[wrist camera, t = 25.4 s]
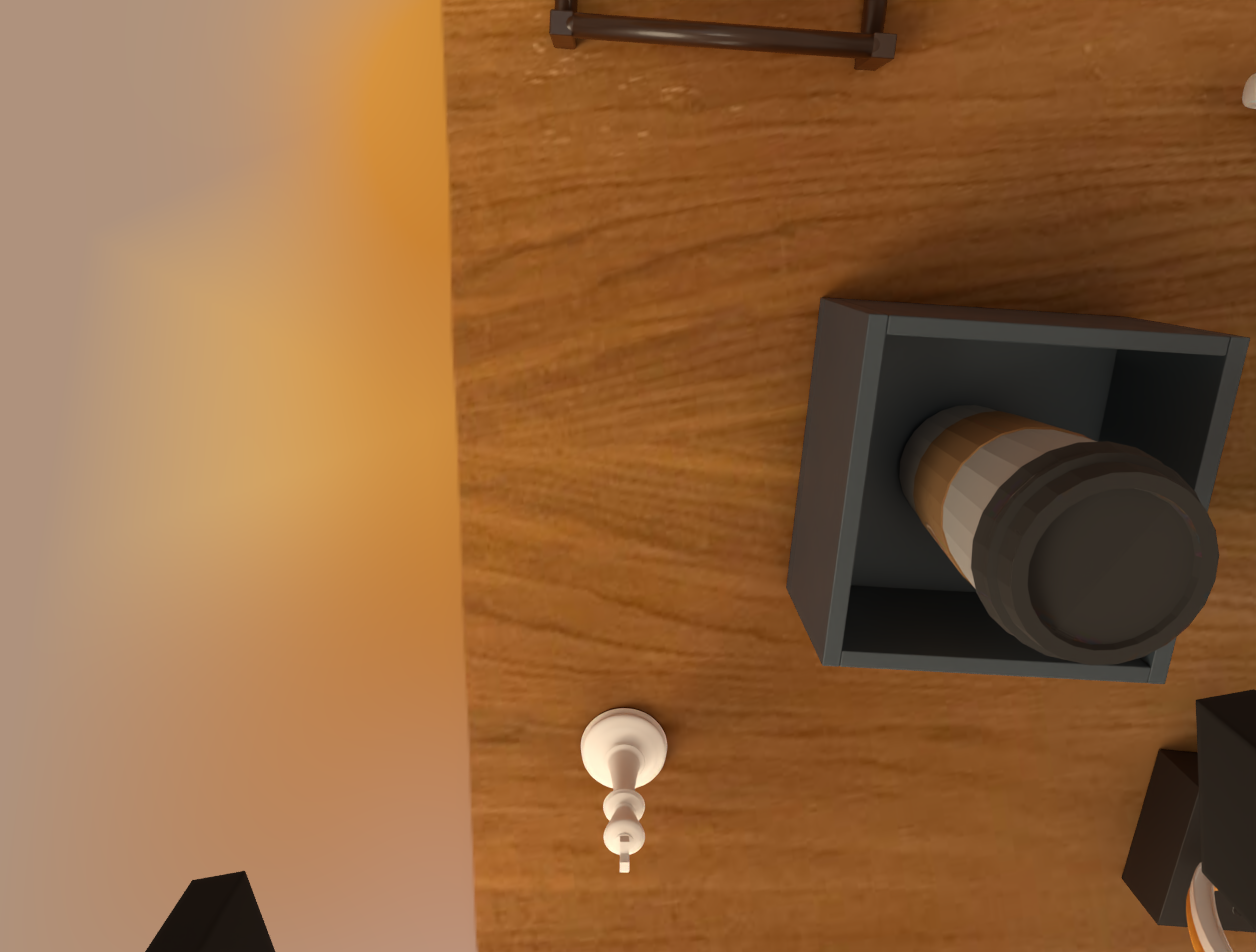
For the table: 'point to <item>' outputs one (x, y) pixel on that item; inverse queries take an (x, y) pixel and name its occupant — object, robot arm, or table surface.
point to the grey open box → (996, 379)
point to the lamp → (1178, 858)
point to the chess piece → (624, 771)
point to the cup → (1250, 92)
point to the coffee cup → (1062, 532)
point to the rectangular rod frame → (730, 34)
